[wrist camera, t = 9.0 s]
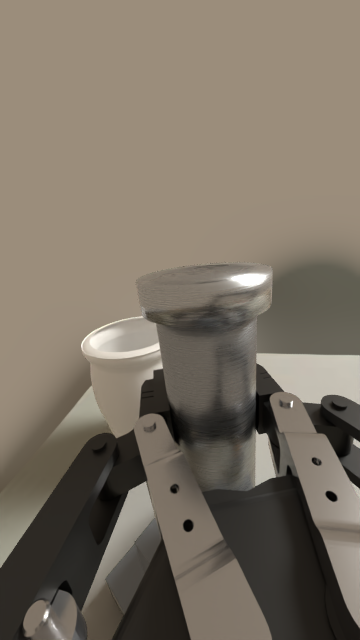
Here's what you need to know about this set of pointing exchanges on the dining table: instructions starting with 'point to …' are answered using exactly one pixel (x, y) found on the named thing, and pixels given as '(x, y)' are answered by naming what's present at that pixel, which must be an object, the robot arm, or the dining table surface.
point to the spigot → (210, 363)
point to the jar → (122, 368)
